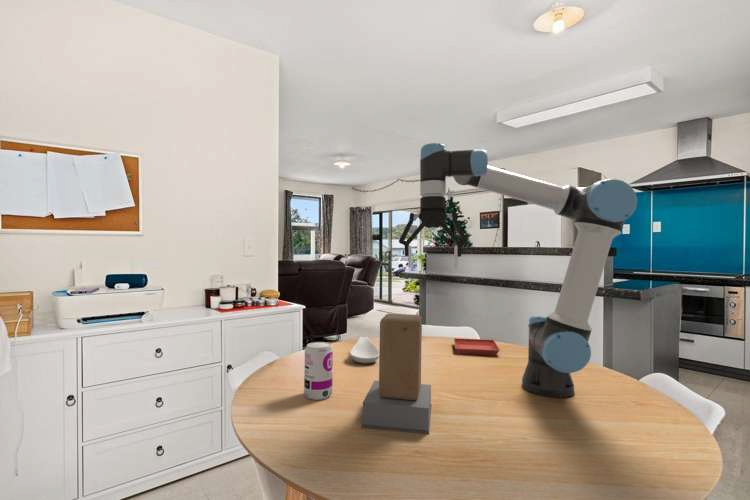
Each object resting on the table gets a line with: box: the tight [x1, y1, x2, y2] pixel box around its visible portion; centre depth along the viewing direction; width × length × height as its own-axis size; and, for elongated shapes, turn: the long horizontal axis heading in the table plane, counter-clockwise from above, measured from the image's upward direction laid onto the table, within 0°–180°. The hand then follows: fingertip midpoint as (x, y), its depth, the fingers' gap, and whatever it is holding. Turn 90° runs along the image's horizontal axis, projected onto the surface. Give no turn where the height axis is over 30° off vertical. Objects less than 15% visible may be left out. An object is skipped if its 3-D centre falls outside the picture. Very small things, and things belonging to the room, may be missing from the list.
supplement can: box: [303, 341, 334, 401], centre depth 114 cm, size 8×8×15 cm
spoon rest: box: [349, 336, 380, 365], centre depth 155 cm, size 24×12×7 cm, turn 5°
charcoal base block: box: [360, 380, 432, 435], centre depth 101 cm, size 16×16×6 cm
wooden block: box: [378, 313, 423, 400], centre depth 101 cm, size 10×10×20 cm
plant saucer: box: [453, 337, 500, 357], centre depth 168 cm, size 18×18×3 cm
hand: (432, 267), depth 116 cm, fingers open, 13 cm apart
